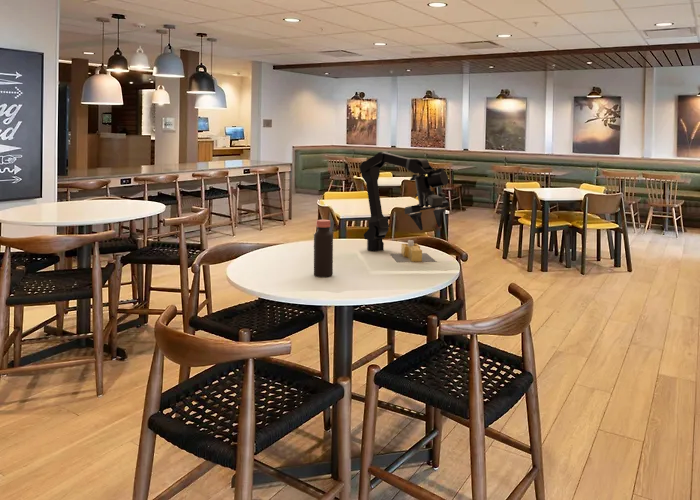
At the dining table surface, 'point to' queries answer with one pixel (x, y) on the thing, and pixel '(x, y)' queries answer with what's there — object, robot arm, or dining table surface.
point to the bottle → (323, 250)
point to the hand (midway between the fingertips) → (430, 228)
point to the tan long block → (412, 252)
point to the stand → (400, 258)
